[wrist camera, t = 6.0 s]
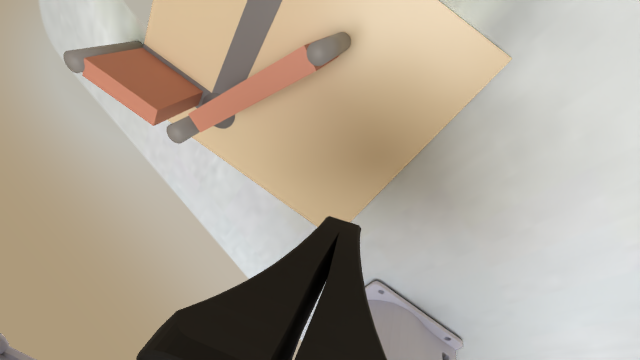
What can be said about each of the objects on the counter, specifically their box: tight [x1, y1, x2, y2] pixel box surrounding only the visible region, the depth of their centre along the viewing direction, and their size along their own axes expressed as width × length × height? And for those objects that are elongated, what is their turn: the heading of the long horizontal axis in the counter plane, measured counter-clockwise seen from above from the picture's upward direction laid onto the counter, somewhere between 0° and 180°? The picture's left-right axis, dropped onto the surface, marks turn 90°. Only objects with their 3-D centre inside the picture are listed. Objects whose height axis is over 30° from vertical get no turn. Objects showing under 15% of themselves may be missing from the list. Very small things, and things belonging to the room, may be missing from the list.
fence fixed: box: [64, 41, 203, 143], centre depth 20 cm, size 8×1×5 cm, turn 58°
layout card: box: [143, 0, 512, 227], centre depth 19 cm, size 19×16×1 cm
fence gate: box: [188, 32, 351, 133], centre depth 17 cm, size 9×1×4 cm, turn 119°
